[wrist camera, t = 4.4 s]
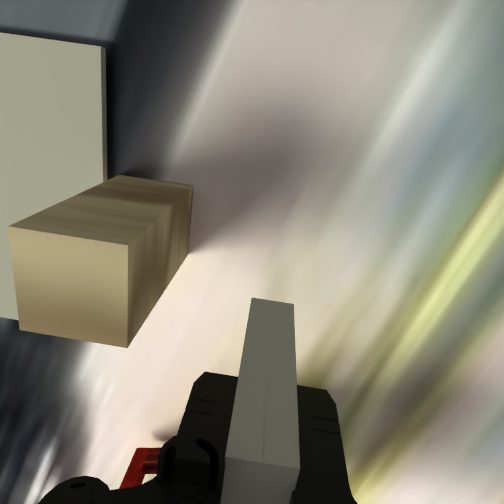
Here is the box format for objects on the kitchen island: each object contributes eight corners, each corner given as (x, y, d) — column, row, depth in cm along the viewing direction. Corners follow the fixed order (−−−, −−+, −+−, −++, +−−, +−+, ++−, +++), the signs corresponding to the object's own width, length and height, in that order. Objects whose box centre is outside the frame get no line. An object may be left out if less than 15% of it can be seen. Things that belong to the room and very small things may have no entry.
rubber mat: (-108, 18, 21) (-119, 16, 21) (105, 47, 21) (100, 46, 20) (-53, 302, 28) (-59, 306, 28) (109, 329, 28) (105, 334, 27)
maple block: (119, 174, 23) (7, 226, 14) (193, 185, 23) (128, 245, 14) (119, 243, 25) (19, 329, 16) (188, 254, 25) (127, 347, 16)
